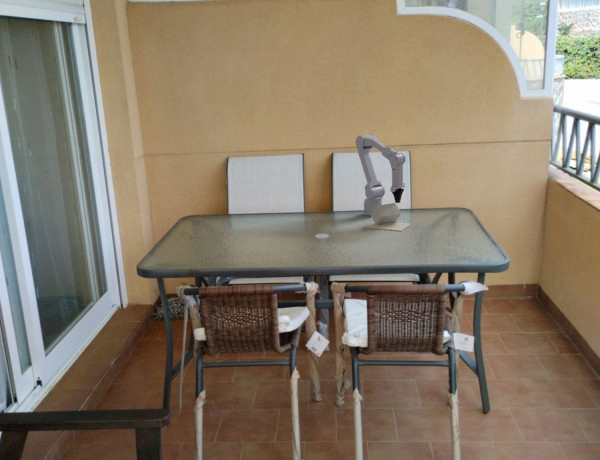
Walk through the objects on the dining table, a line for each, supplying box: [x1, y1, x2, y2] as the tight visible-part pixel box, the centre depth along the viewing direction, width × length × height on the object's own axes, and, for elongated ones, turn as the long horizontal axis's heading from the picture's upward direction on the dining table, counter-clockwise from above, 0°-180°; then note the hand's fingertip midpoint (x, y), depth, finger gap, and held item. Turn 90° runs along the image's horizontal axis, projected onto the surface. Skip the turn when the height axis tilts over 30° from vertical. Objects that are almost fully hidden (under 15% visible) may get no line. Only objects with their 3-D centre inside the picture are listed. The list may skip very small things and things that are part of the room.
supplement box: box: [370, 202, 402, 225], centre depth 310 cm, size 7×7×13 cm
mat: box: [364, 221, 412, 232], centre depth 308 cm, size 20×14×1 cm
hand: (397, 202), depth 315 cm, fingers closed
